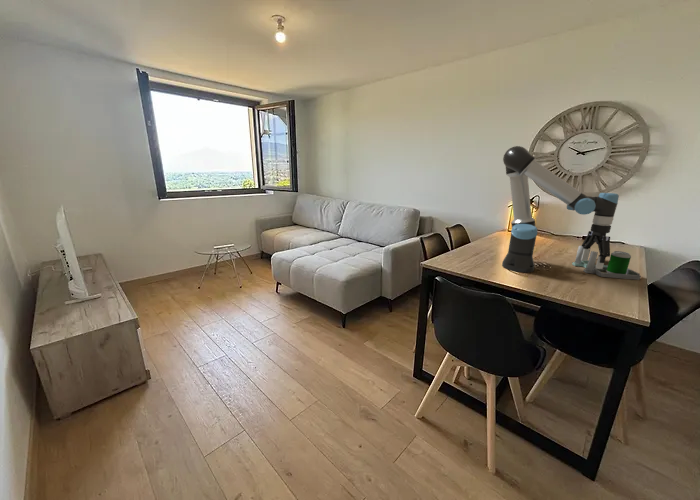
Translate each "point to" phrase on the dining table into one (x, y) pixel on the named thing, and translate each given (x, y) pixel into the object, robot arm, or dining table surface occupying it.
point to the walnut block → (604, 262)
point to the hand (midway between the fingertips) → (591, 264)
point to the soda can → (618, 262)
